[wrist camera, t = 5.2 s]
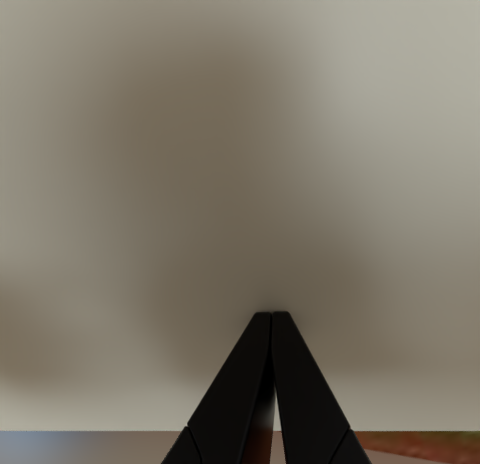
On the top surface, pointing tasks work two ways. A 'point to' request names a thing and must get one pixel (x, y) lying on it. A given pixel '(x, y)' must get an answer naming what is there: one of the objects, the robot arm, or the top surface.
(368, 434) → the top surface
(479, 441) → the top surface
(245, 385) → the robot arm
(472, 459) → the top surface
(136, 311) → the tray lid
